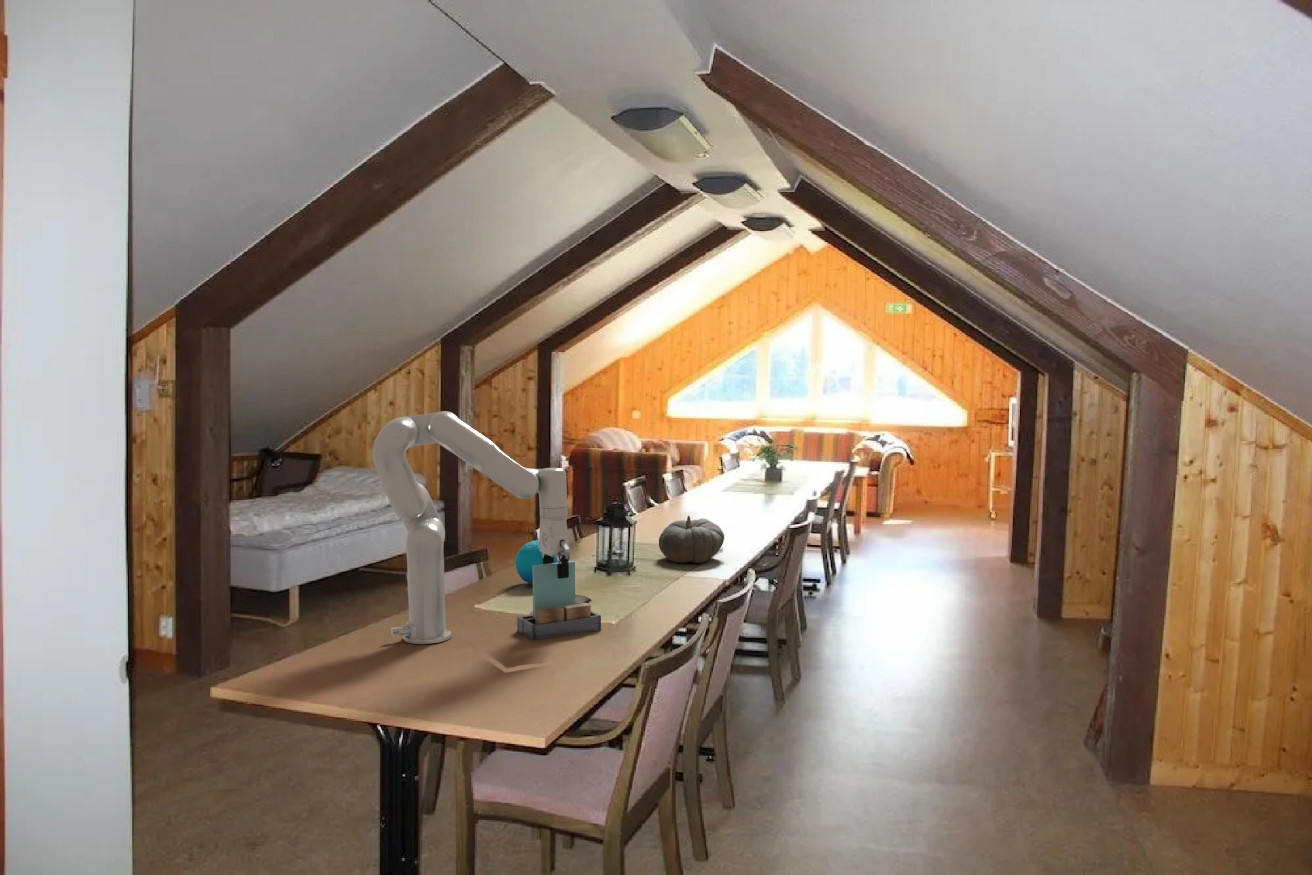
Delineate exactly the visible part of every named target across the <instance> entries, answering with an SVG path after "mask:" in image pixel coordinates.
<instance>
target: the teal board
mask: <svg viewBox="0 0 1312 875" xmlns="http://www.w3.org/2000/svg"><path fill="white" fill-rule="evenodd" d="M557 564H558V563H549V564H540V565H532V573H533V585H532V611H533V618H535V610H539V609H546V608H553V607H561V608H563V606H567V605H574V604H575V595H576V561H574V560H569V577H568V578H562V579H558V578H557Z"/></svg>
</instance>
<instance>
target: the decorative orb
mask: <svg viewBox="0 0 1312 875" xmlns="http://www.w3.org/2000/svg"><path fill="white" fill-rule="evenodd" d="M553 557H554V563H558V561H557V558H556V555H555V556H553ZM540 564H543V561H542V552H541V551H540V550H539V539H538V540H537V539H536V540H532V541H529V542H527V543H525V544H523V546H522V547H520V549H519V551H518V552H517V554H516V556H515V569H516V572H517V574H518V576H519V577H520V579H522V581H524V582H525V583H527V584H529V585H532V586H533V573H532V565H540Z"/></svg>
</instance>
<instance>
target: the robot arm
mask: <svg viewBox="0 0 1312 875" xmlns="http://www.w3.org/2000/svg"><path fill="white" fill-rule="evenodd" d="M432 444H438V445H440V446H441V447H443V448H444V449H446V450H447V451H448V452H450V453H452V454H454V455H455V456H457V457H458V458H459V459H461V460H462V461H464V462H465V463H466V464H468V465H469V466H471V467H472V468H474V469H475V470H477V472H480V473H481V474H483V475H484V476H486V477H487V478H488V479H489V480H491V481H493V482H494V483H495V484H497V485H498V486H500V487H502V489H504V490H506V491H508V492H509V493H511V494H512V495H513V496H515V497H517V498H519V499H522V500H523V499H524V500H526V499H531V498H533V497H534V496H535V495H537V494H538V495H539V496H538V497H539V501H538V502H539V531H538V532H539V534H538V540H539V550H540V551H541V552H542V561H543V564H549V563H554V557H553V556H555V555H556V558H557V561H558V564H557V578H558V579H562V578H568V577H569V561H570V558H571V557H570V554H571V549H570V547H569V531H568V523H567V519H568V495H567V494H568V493H567V492H568V490H567V488H568V487H567V486H568V485H567V472H566V470H565V469H564V468H562V467H545V468H531V467H523V466H522V465H521V464H519V462H518V463H517V461H515V460H513V459H512V458H510V457H509V456H508V455H507V454H505V453H504V452H503V451H502V450H501V449H500V448H499V447H498V446H497V445H496V444H495V443H494V442H493V441H492V440H490V439H489V438H488V437H486V436H485V435H483V434H482V433H480V432H479V431H478V430H475V429H474V428H472V427H471V426H470V425H468V424H467V423H465V421H462V420H461V419H459V417H458V416H457V415H456V414H455V413H453V412H451V411H446V410H444V411H443V410H442V411H436V412H431V413H425V414H416V415H414V414H413V415H407V416H400V417H396V418H394V419H391V420H390V421H389V422H387V423H386V424H385V425H384V426H383V427H382V428H381V429H380V431H379V432H378V434H377V435H376V437H375V439H374V442H373V445H372V461H373V465H374V468H375V470H376V472H377V475H378V477H379V480H380V482H381V485H382V487H383V489H384V492H385V494H386V497H387V498H388V501H389V504H390V506H391V509H392V511H393V513H394V514H395V515H396V516H397V517H398V518H399V519H401V520H402V523H403V525H404V526H405V529H406V531H407V535H406V540H405V548H406V550H405V551H406V563H407V564H406V566H407V588H408V589H407V591H408V592H407V593H408V596H407V597H408V621H405V624H403V625H402V626H395V627H390V633H391V635H392V636H395V635H398V636H402V637H403V641H404V642H406V643H409V644H413V645H430V644H437V643H441V642H445V641H448V640H449V639H451V638H452V631H451V630H449V629H447V628H446V602H445V600H446V597H445V596H446V591H445V560H444V559H445V556H444V555H445V554H444V544H445V543H444V542H445V537H446V531H445V527H444V524H443V521H442V520H441V517H440V515H439V513H438V510H437V509H436V506H435V504H434V501H433V499H432V498H431V494H430V492H429V491H428V489H427V488H426V487H425V486H424V485H423V484H422V483H419V482H418V481H417V478H416V475H415V474H414V471H413V469H412V466H411V464H410V462H409V461H408V458H407V450H408V449H409V448H411V447H416V446H426V445H432Z"/></svg>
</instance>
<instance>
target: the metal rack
mask: <svg viewBox="0 0 1312 875" xmlns="http://www.w3.org/2000/svg"><path fill="white" fill-rule="evenodd" d="M516 623H517V624H516V628H517V629H516V630H517V632H518V633H519V634H520V635H523V636H524V637H525V638H528V639H529V640H531V641H533V642H536V641H542V640H543V641H544V640H549V639H554V638H560V637H567V636H573V635H574V636H575V635H579V634H586V633H591V632H593V633H594V632H599V631H602V616H601V615H600V614H599V613H596V612H594V611H592V610H591V616H590V617H583V618H577V619H570V620H563V621H557V622H550V623H543V624H537V625H535V618H533V615H529V616H527V615H523V616H520V615H519V616H516Z"/></svg>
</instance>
